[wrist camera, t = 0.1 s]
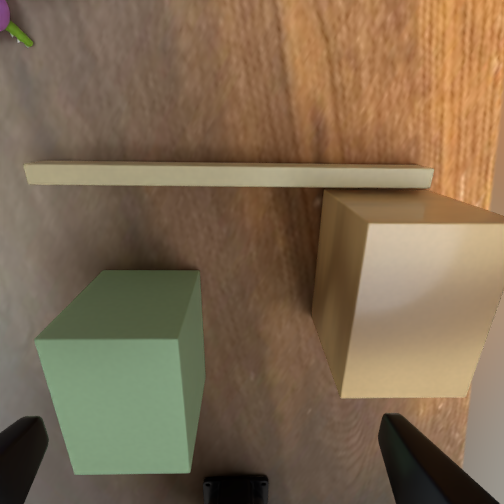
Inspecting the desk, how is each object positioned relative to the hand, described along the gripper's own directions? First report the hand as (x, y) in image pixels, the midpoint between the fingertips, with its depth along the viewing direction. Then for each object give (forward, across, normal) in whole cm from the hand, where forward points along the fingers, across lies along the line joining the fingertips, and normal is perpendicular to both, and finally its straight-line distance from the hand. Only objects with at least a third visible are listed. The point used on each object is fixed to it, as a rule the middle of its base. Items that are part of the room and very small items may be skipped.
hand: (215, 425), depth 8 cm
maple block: (+15, -10, +1) cm, 18 cm away
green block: (+15, +6, +7) cm, 17 cm away
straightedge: (+15, 0, -5) cm, 15 cm away
